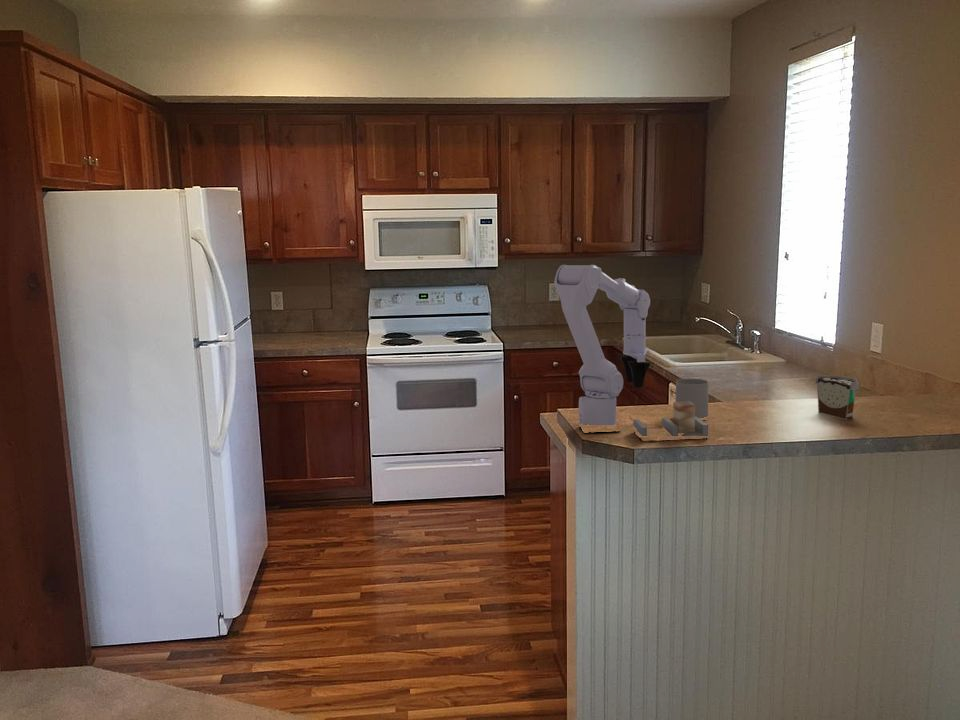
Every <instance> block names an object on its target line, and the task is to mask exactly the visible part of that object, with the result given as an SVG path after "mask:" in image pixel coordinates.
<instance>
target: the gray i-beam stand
mask: <svg viewBox="0 0 960 720" xmlns="http://www.w3.org/2000/svg"><path fill="white" fill-rule="evenodd" d="M632 421H633V422H632V423H633V424H632V425H633V426H634V427H635V428H636V429H637V431H638V432H639V433H640V434H641V435H642V436H647V428H648V427H647V426H646V425H645V424H644V423H643V422H642V421H641V420H640V419H638V418H633V420H632ZM661 424H662V426H663V427H664V428H665V429H666V430H667V431H668V432H669V433H670V434H671V435H672V436H678V426H677V425H676V424H674V421H672V420H671V419H669V417H662V423H661ZM633 426H632V427H633ZM662 426H661V427H662ZM682 436H708V437H709V424H708V423H706V422H705V421H702V420H700V419H699V418H698V417H696V416H695V433H684V434H683V435H682Z"/></svg>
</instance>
